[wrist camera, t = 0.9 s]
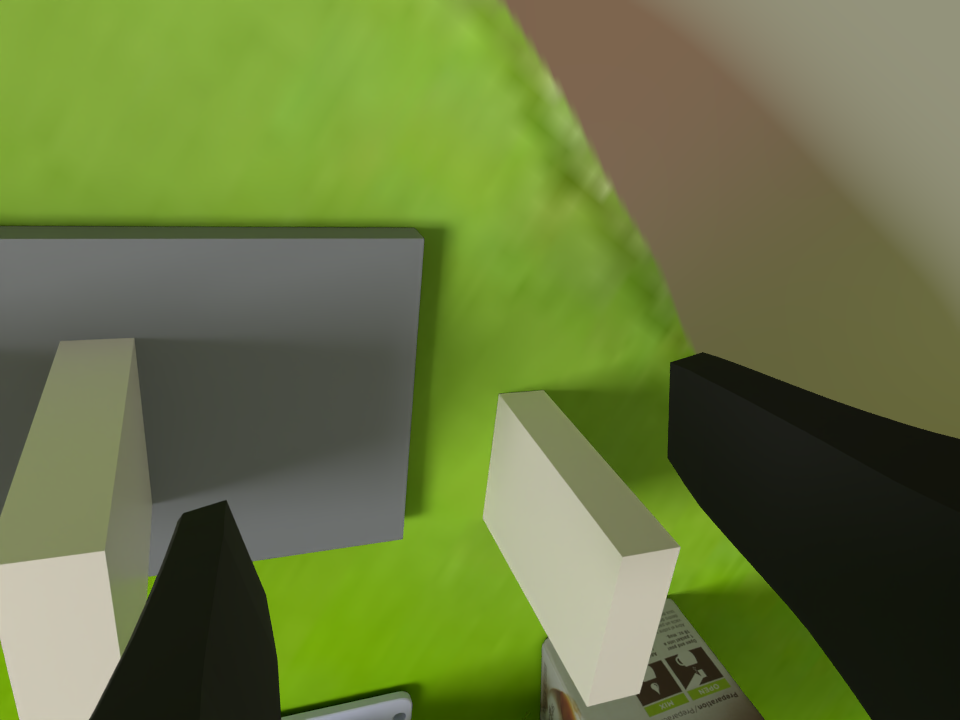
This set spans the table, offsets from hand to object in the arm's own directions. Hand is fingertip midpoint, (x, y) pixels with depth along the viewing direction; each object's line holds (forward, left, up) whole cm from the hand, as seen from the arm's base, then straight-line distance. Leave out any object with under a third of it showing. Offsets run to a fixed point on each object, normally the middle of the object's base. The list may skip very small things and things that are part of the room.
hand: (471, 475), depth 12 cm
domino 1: (-4, +6, -9) cm, 12 cm away
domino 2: (-7, -6, -10) cm, 14 cm away
